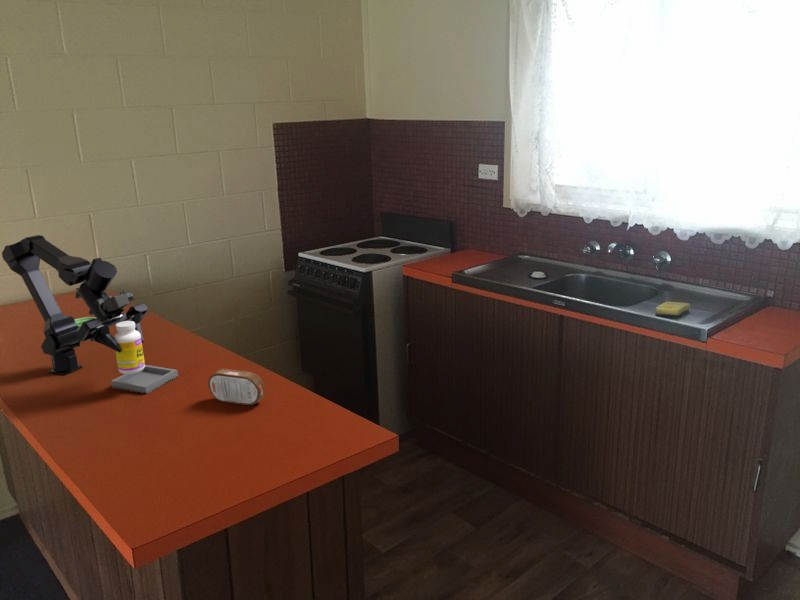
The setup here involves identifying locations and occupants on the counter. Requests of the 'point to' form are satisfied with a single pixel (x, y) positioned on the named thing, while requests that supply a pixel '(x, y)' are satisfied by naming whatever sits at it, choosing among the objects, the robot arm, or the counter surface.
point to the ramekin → (83, 320)
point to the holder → (145, 379)
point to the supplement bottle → (129, 348)
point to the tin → (236, 387)
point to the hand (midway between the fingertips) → (132, 347)
